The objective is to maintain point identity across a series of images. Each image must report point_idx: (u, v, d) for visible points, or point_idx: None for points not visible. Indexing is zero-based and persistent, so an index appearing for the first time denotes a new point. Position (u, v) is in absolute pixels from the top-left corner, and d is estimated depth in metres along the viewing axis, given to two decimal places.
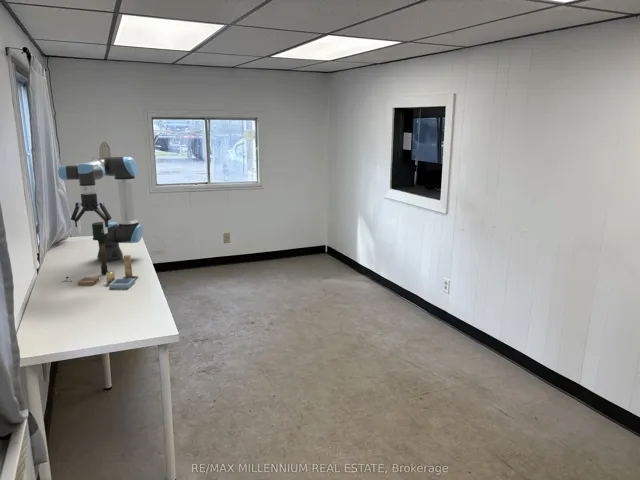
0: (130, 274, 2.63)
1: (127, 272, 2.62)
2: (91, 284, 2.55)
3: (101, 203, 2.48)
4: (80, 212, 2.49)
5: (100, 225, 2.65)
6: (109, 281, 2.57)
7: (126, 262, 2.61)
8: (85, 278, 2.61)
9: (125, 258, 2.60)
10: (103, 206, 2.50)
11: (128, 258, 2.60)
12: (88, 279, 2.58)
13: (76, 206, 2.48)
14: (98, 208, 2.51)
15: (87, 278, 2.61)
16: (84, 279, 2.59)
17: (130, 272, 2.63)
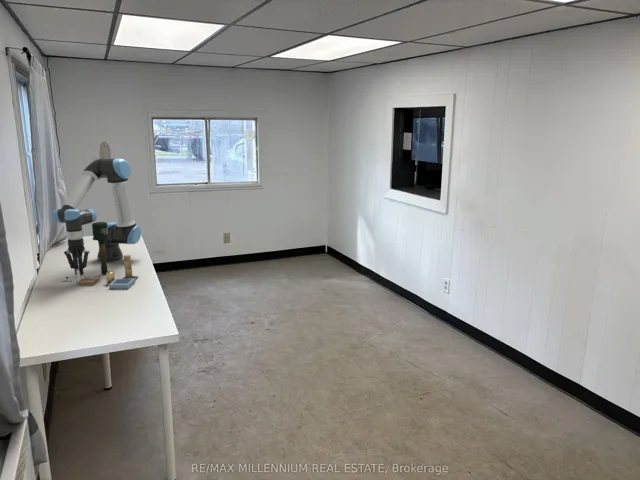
0: (130, 274, 2.63)
1: (127, 272, 2.62)
2: (92, 284, 2.56)
3: (87, 252, 2.54)
4: (73, 259, 2.55)
5: (100, 225, 2.65)
6: (109, 281, 2.57)
7: (126, 262, 2.61)
8: (85, 278, 2.61)
9: (125, 258, 2.60)
10: (87, 254, 2.56)
11: (128, 258, 2.60)
12: (88, 279, 2.58)
13: (66, 254, 2.54)
14: None
15: (87, 278, 2.61)
16: (84, 279, 2.59)
17: (130, 272, 2.63)
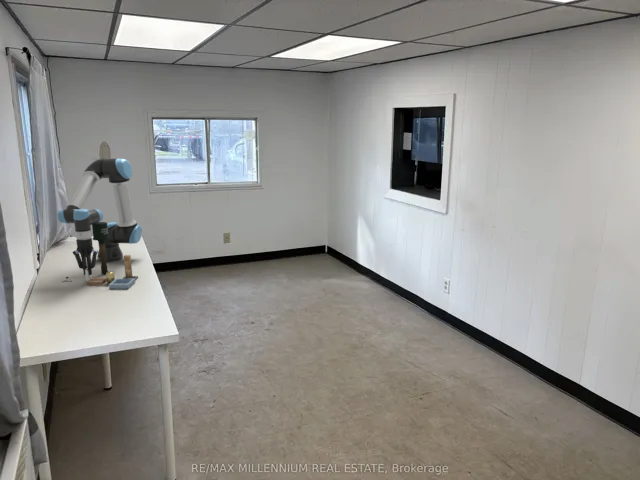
0: (130, 274, 2.63)
1: (127, 272, 2.62)
2: (100, 284, 2.55)
3: (96, 252, 2.54)
4: (82, 259, 2.55)
5: (100, 225, 2.65)
6: (109, 281, 2.57)
7: (126, 262, 2.61)
8: (93, 278, 2.61)
9: (125, 258, 2.60)
10: None
11: (128, 258, 2.60)
12: (96, 280, 2.58)
13: (75, 254, 2.54)
14: (90, 254, 2.57)
15: (96, 278, 2.61)
16: (93, 279, 2.59)
17: (130, 272, 2.63)
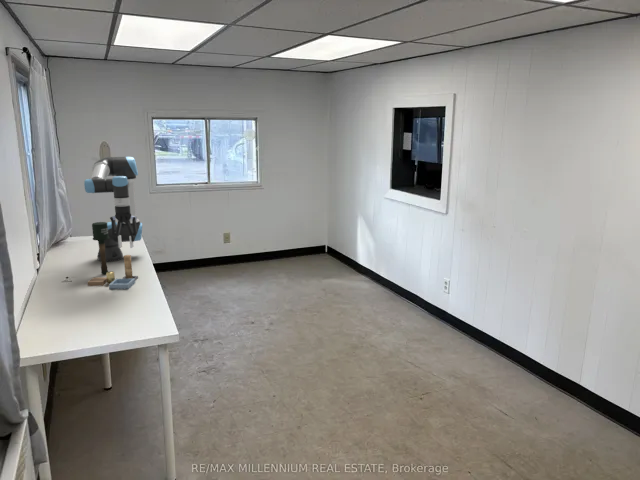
0: (130, 274, 2.63)
1: (127, 272, 2.62)
2: (101, 284, 2.55)
3: (134, 218, 2.56)
4: (117, 225, 2.56)
5: (100, 225, 2.65)
6: (109, 281, 2.57)
7: (126, 262, 2.61)
8: (94, 278, 2.61)
9: (125, 258, 2.60)
10: (135, 220, 2.57)
11: (128, 258, 2.60)
12: (97, 280, 2.58)
13: (112, 220, 2.55)
14: (129, 221, 2.59)
15: (96, 278, 2.61)
16: (94, 279, 2.59)
17: (130, 272, 2.63)
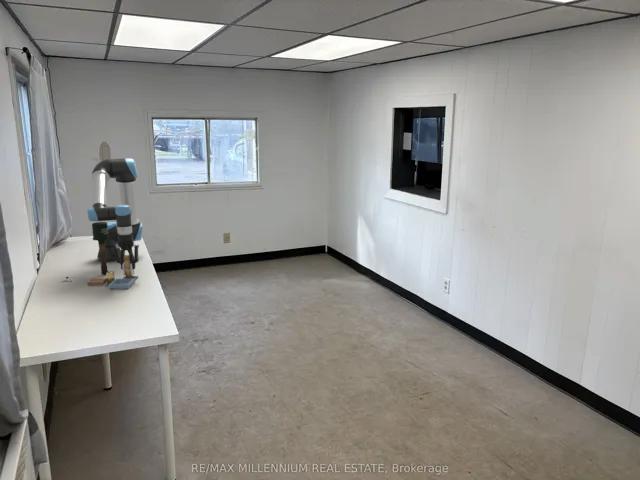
0: (130, 274, 2.63)
1: (127, 272, 2.62)
2: (101, 284, 2.56)
3: (137, 246, 2.59)
4: (121, 254, 2.60)
5: (100, 225, 2.65)
6: (109, 281, 2.57)
7: (126, 262, 2.61)
8: (94, 278, 2.61)
9: (125, 258, 2.60)
10: None
11: (128, 258, 2.61)
12: (97, 280, 2.58)
13: (115, 248, 2.59)
14: (131, 249, 2.62)
15: (96, 278, 2.61)
16: (93, 279, 2.59)
17: (130, 272, 2.63)
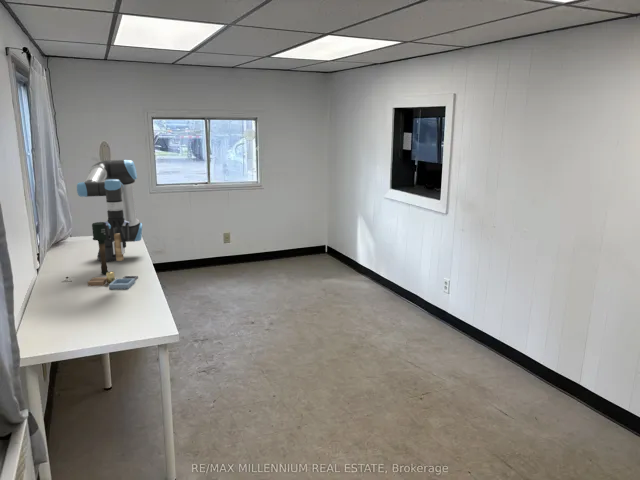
0: (120, 254, 2.50)
1: (117, 251, 2.49)
2: (101, 284, 2.56)
3: (128, 223, 2.46)
4: (111, 231, 2.47)
5: (100, 225, 2.65)
6: (109, 281, 2.57)
7: (116, 241, 2.47)
8: (94, 278, 2.61)
9: (115, 236, 2.47)
10: None
11: (118, 236, 2.47)
12: (97, 280, 2.58)
13: (105, 225, 2.46)
14: (122, 226, 2.49)
15: (96, 278, 2.61)
16: (93, 279, 2.59)
17: (121, 251, 2.50)
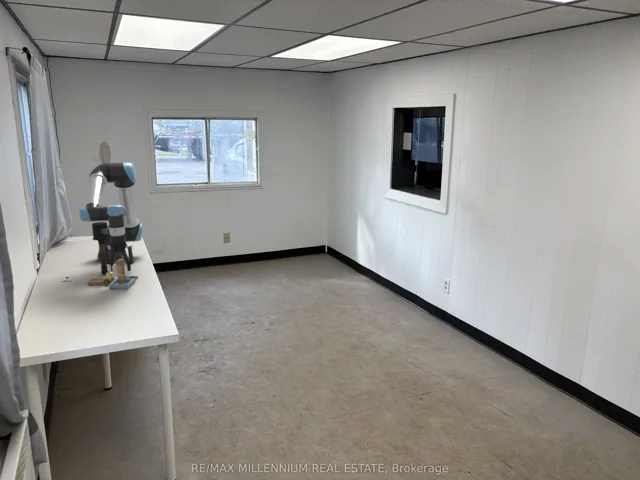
0: (123, 279, 2.53)
1: (120, 276, 2.52)
2: (102, 284, 2.56)
3: (130, 247, 2.49)
4: (112, 255, 2.50)
5: (100, 225, 2.65)
6: (109, 281, 2.57)
7: (119, 266, 2.51)
8: (94, 278, 2.61)
9: (118, 262, 2.50)
10: (130, 249, 2.51)
11: (121, 262, 2.51)
12: (97, 280, 2.58)
13: (106, 249, 2.49)
14: (125, 250, 2.52)
15: (96, 278, 2.61)
16: (93, 279, 2.59)
17: (123, 276, 2.53)
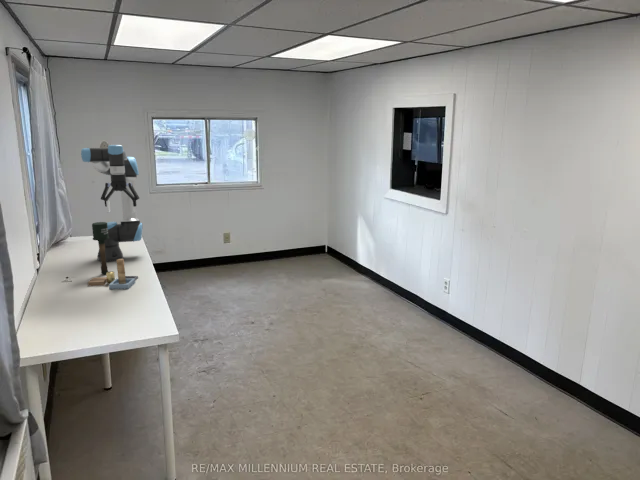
0: (123, 279, 2.53)
1: (120, 277, 2.52)
2: (102, 284, 2.56)
3: (130, 183, 2.59)
4: (110, 192, 2.60)
5: (100, 225, 2.65)
6: (109, 281, 2.57)
7: (119, 266, 2.51)
8: (93, 278, 2.61)
9: (118, 262, 2.50)
10: (131, 186, 2.61)
11: (121, 262, 2.51)
12: (97, 280, 2.58)
13: (106, 186, 2.59)
14: (126, 188, 2.62)
15: (96, 278, 2.60)
16: (93, 279, 2.59)
17: (123, 277, 2.53)
